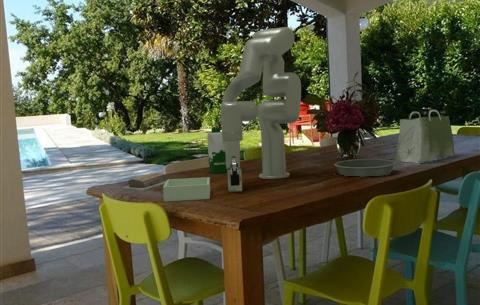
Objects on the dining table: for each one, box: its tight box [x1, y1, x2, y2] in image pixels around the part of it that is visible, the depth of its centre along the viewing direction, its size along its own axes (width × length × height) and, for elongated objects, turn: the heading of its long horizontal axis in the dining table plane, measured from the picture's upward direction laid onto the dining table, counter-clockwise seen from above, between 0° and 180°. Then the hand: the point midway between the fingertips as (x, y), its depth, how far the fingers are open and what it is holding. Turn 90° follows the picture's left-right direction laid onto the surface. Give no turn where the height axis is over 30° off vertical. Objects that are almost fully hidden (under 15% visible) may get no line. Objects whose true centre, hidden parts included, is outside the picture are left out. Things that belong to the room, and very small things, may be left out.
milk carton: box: [206, 127, 228, 175], centre depth 240 cm, size 9×9×20 cm
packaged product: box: [122, 172, 167, 192], centre depth 213 cm, size 18×5×10 cm
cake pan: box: [333, 158, 397, 178], centre depth 218 cm, size 25×25×4 cm
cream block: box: [226, 166, 243, 192], centre depth 195 cm, size 5×5×8 cm
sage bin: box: [162, 176, 211, 202], centre depth 189 cm, size 16×16×5 cm
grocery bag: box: [393, 109, 455, 163], centre depth 246 cm, size 32×14×23 cm, turn 132°
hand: (234, 183), depth 195 cm, fingers open, 9 cm apart
